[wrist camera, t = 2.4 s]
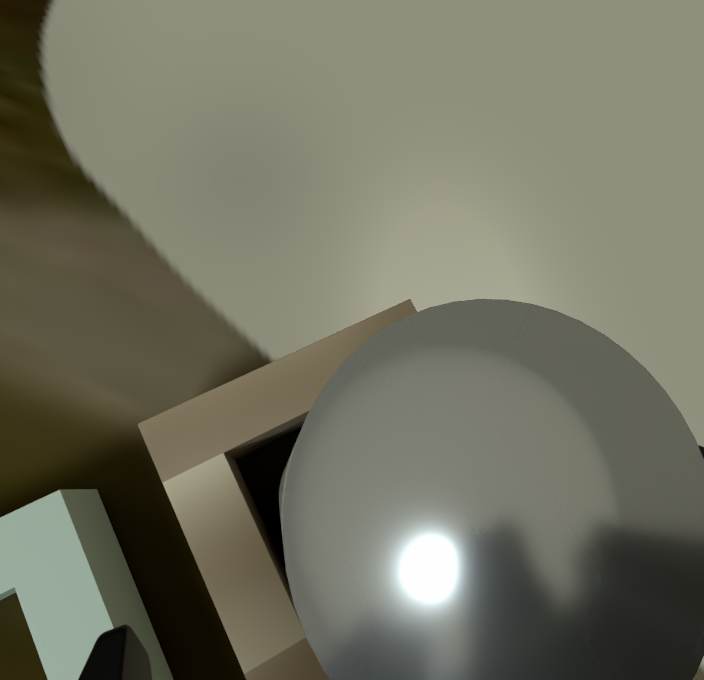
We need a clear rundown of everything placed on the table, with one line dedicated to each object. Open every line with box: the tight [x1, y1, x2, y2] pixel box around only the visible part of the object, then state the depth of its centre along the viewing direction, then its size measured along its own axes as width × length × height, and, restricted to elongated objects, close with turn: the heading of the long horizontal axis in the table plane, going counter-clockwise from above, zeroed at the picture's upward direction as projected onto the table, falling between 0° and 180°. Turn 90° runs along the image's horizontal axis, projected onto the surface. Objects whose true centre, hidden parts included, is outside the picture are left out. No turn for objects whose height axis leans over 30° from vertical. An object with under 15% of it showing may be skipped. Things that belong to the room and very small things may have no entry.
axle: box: [279, 299, 704, 680], centre depth 11 cm, size 4×4×14 cm
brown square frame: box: [138, 299, 417, 680], centre depth 16 cm, size 8×8×4 cm
